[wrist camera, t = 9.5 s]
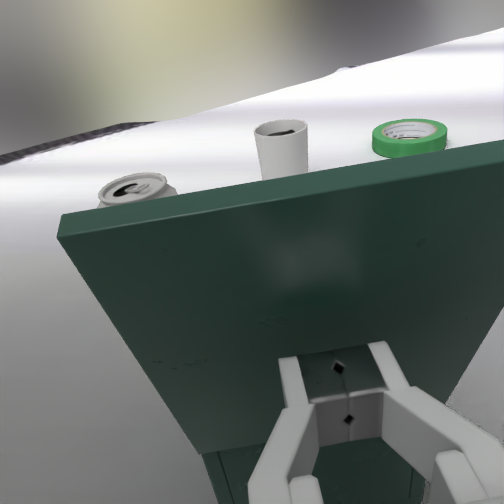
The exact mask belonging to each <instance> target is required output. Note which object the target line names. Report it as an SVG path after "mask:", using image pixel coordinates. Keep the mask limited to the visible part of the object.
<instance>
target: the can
mask: <svg viewBox="0 0 504 504" xmlns="http://www.w3.org/2000/svg"><path fill="white" fill-rule="evenodd" d="M166 183H167V180H166V177H165V176H163V175H161V174H158V173H137V174H132V175H128V176H124V177H122V178H119V179H116V180H114V181H112V182H110V183H108V184H107V185H105V186H104V187H103V188H102V189H101V190H100V192H99V193H98V198H99V199H100V200H101V201H100V203H99V205H98V207H97V209H98V208H103V207H109V206H115V205H121V204H127V203H133V202H139V201H145V200H151V199H156V198H162V197H168V196H174V195H178V194H177V192H176V189H175V188H173V187H171V186H170V185H168V184H166Z"/></svg>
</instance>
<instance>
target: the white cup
mask: <svg viewBox="0 0 504 504" xmlns="http://www.w3.org/2000/svg"><path fill="white" fill-rule="evenodd" d="M254 135H255V140H256V146H257V151H258V157H259V162H260V168H261V173H262V179H263V180H269V179H274V178H280V177H286V176H292V175H298V174H304V173H308V136H307V123H306V122H305V121H301V120H297V119H283V120H276V121H270V122H267V123H264V124H261V125H260V126H258V127H256V128H255V130H254Z"/></svg>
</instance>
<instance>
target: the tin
mask: <svg viewBox="0 0 504 504" xmlns="http://www.w3.org/2000/svg"><path fill="white" fill-rule="evenodd" d="M265 445H266V443H261V444H255V445H250V446H244V447H238V448H233V449H227V450H221V451H216V452H210V453H204V454H201V455H202V458H203V460H204V463H205V466H206V469H207V472H208V475H209V478H210V481H211V483H212V486H213V489H214V492H215V495H216V498H217V501H218V504H249V496H248V481H249V479H250V477H251V475H252V473H253V471H254V469H255V467H256V464H257V462H258V460H259V458H260V456H261V454H262V452H263V450H264V448H265ZM311 475H312V476H314V477H315V478H317V479H318V482H319V487H320V491H321V495H322V499H323V503H324V504H415V503H421V502H422V499H423V493H424V487H425V480H426V479H425V478H424V477H423V476H422V475H421V474H420V473H418V472H417V471H416V470H415V469H414V468H413V467H412V466H411V465H410V464H409V463H408V462H407V461H405V460H404V459H403V458H402V457H401V456H400V455H399V454H398V453H397V452H396V451H395V450H394V449H393V448H391V447H390V446H389V445H388V444H387V443H386V442H385V441H384V440H383V439H382V438H381V437H375V438H368V439H361V440H354V441H348V442H343V443H338V444H333V445H328V446H323V447H319V452H318V455H317V458H316V462H315V465H314V468H313V471H312V474H311Z"/></svg>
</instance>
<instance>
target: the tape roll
mask: <svg viewBox="0 0 504 504" xmlns="http://www.w3.org/2000/svg"><path fill="white" fill-rule="evenodd" d="M401 137H420V138H414V139H397V138H401ZM446 138H447V127H446V126H445V125H444V124H442V123H440V122H437V121H433V120H427V119H402V120H396V121H391V122H387V123H384V124H382V125H379V126H378V127H376V128H375V129H374V130H373V133H372V148H373V151H374V152H376V153H377V154H379V155H381V156H385V157H389V158H398V157H404V156H410V155H416V154H422V153H428V152H434V151H440V150H443V149H444V148H445V146H446Z"/></svg>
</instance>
